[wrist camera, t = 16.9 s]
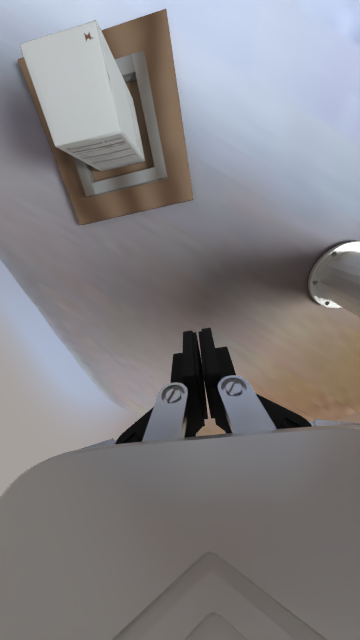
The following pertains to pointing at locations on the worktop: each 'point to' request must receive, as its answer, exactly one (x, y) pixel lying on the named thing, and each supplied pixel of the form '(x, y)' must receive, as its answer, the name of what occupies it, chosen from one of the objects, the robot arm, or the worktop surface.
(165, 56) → the pocket board
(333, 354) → the worktop surface
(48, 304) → the worktop surface
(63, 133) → the supplement box
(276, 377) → the worktop surface
